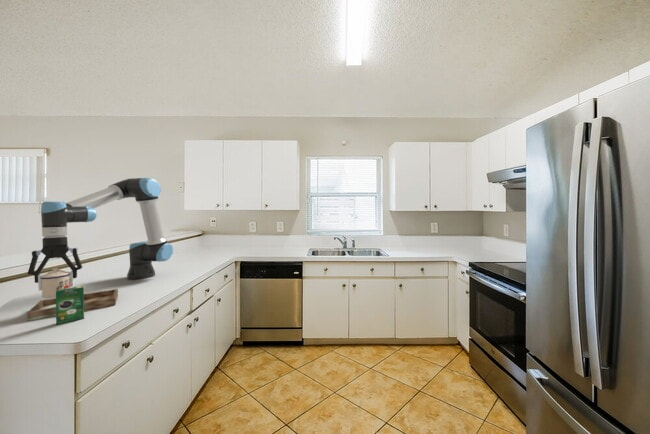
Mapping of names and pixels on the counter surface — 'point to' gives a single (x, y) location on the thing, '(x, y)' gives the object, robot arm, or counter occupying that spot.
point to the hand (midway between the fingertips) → (57, 287)
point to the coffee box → (69, 304)
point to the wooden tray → (90, 302)
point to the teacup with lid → (54, 282)
